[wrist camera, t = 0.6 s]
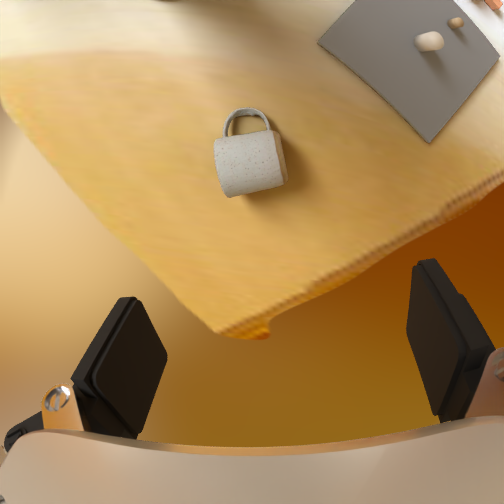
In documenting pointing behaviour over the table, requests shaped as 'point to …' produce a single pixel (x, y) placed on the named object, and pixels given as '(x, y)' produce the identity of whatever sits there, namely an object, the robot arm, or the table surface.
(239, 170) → the ceramic mug
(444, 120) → the base plate
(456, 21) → the dowel pin
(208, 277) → the table surface
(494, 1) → the square frame with post
